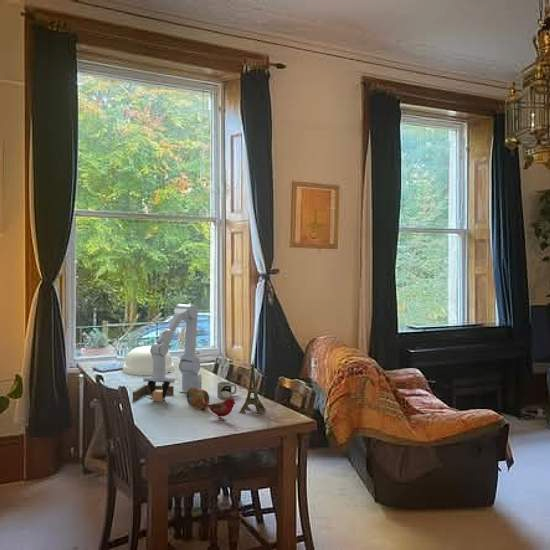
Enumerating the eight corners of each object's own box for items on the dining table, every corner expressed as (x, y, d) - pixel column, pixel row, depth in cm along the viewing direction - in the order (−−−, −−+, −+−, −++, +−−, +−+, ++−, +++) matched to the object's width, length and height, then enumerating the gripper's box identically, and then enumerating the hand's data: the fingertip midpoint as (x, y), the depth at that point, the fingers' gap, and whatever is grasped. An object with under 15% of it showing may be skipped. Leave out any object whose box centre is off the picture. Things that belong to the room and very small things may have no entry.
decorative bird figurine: (233, 423, 226) (233, 399, 226) (198, 417, 235) (198, 393, 235) (237, 421, 229) (237, 397, 229) (202, 415, 237) (202, 392, 237)
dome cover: (131, 364, 346) (132, 342, 346) (179, 365, 345) (179, 343, 345) (115, 375, 314) (115, 350, 314) (167, 376, 313) (167, 352, 313)
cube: (165, 399, 263) (165, 390, 263) (161, 401, 258) (162, 392, 258) (155, 399, 263) (155, 389, 263) (152, 401, 259) (152, 391, 259)
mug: (221, 399, 265) (221, 385, 264) (215, 396, 270) (215, 382, 270) (239, 396, 270) (239, 383, 270) (233, 393, 276) (233, 380, 275)
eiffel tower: (238, 413, 241) (238, 356, 240) (242, 407, 251) (243, 352, 250) (262, 415, 239) (262, 357, 239) (265, 408, 250) (266, 353, 249)
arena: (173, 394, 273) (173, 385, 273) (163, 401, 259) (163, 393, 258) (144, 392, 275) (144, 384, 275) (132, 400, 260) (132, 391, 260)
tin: (186, 404, 255) (186, 386, 255) (192, 403, 257) (192, 385, 257) (204, 411, 244) (204, 392, 243) (210, 410, 246) (210, 391, 245)
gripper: (141, 369, 257) (140, 398, 258) (171, 370, 256) (171, 400, 256) (146, 366, 264) (146, 395, 265) (176, 367, 263) (175, 396, 263)
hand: (158, 397), depth 261 cm, fingers closed on cube, 4 cm apart
